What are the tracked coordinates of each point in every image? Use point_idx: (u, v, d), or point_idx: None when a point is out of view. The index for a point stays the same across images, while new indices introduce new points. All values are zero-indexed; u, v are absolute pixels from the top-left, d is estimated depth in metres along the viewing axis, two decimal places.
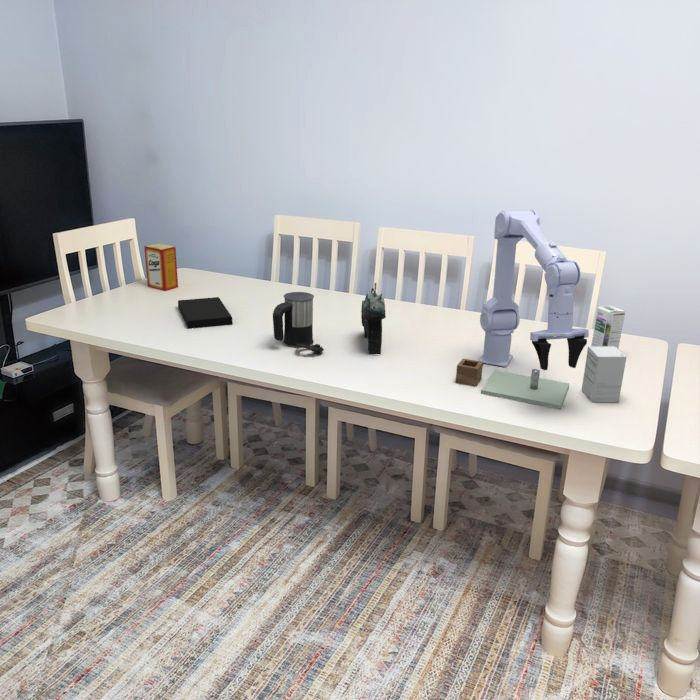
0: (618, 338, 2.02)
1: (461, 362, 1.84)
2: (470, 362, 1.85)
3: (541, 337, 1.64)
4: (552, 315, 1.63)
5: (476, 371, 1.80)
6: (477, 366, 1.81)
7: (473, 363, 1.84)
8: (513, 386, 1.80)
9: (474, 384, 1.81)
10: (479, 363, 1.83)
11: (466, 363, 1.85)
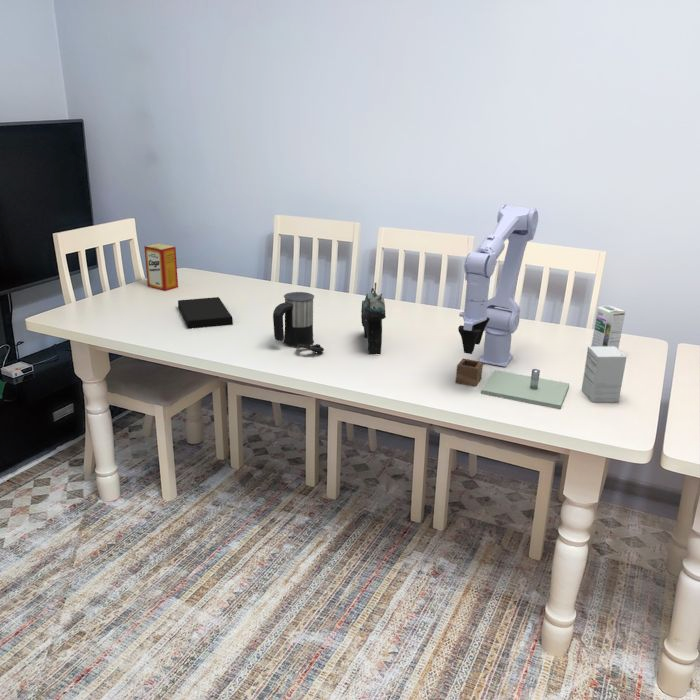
0: (618, 338, 2.02)
1: (461, 362, 1.84)
2: (470, 362, 1.85)
3: None
4: None
5: (476, 371, 1.80)
6: (477, 366, 1.81)
7: (473, 363, 1.84)
8: (513, 386, 1.80)
9: (474, 384, 1.81)
10: (479, 363, 1.83)
11: (466, 363, 1.85)
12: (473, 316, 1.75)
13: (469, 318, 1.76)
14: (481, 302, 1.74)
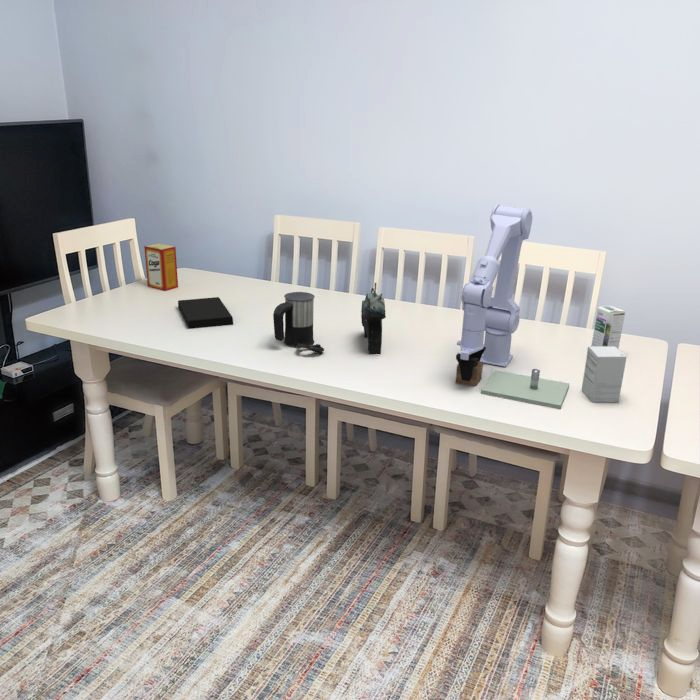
0: (618, 338, 2.02)
1: None
2: None
3: None
4: None
5: (476, 371, 1.80)
6: (477, 366, 1.81)
7: None
8: (513, 386, 1.80)
9: (474, 384, 1.81)
10: (479, 363, 1.83)
11: None
12: (470, 345, 1.78)
13: (466, 347, 1.79)
14: (478, 332, 1.77)
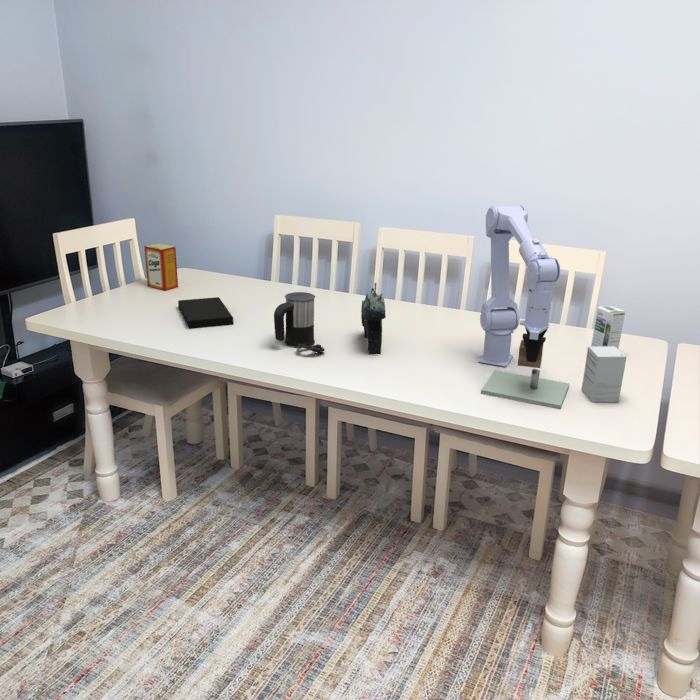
0: (618, 338, 2.02)
1: (522, 344, 1.76)
2: None
3: None
4: None
5: (540, 352, 1.72)
6: None
7: None
8: (513, 386, 1.80)
9: (538, 366, 1.74)
10: None
11: None
12: (537, 324, 1.70)
13: (532, 326, 1.71)
14: (545, 310, 1.69)
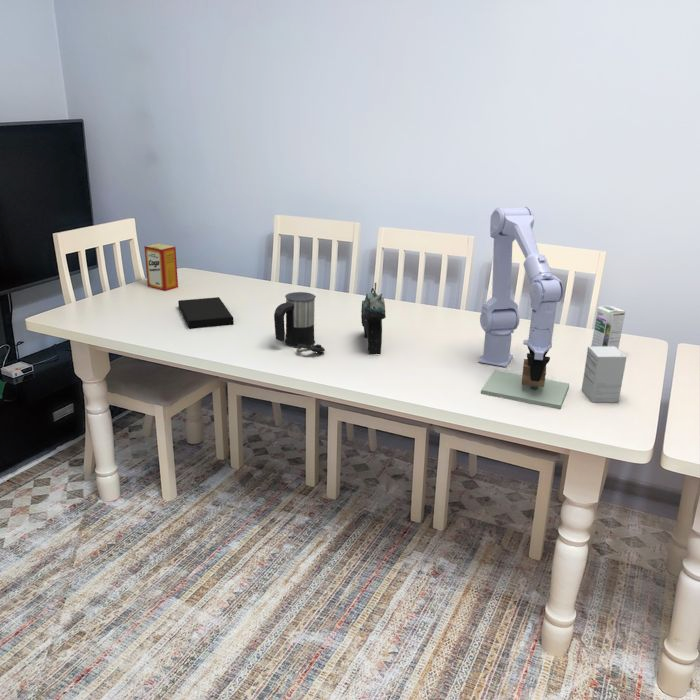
0: (618, 338, 2.02)
1: (525, 363, 1.77)
2: None
3: None
4: None
5: (544, 371, 1.74)
6: None
7: None
8: (513, 386, 1.80)
9: (542, 385, 1.75)
10: None
11: None
12: (541, 344, 1.71)
13: (536, 346, 1.72)
14: (549, 330, 1.70)
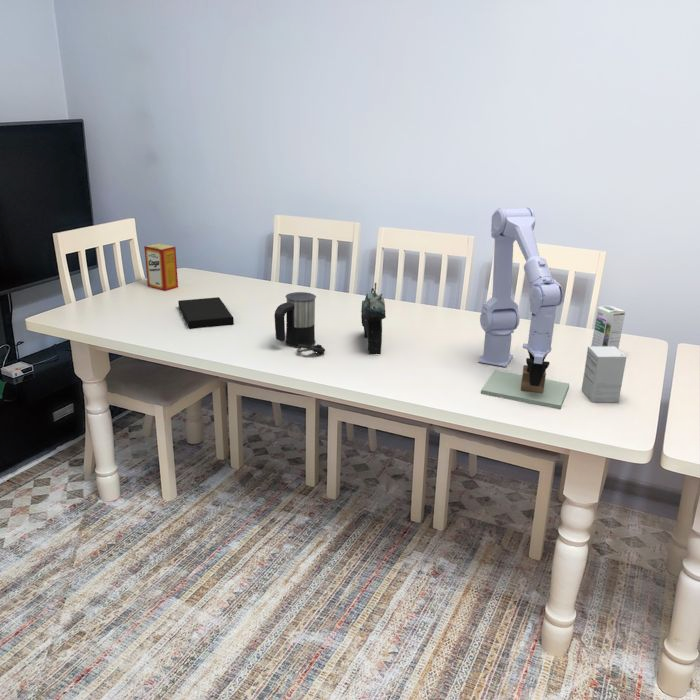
0: (618, 338, 2.02)
1: (525, 369, 1.77)
2: None
3: None
4: None
5: (544, 378, 1.74)
6: None
7: None
8: (513, 386, 1.80)
9: (541, 391, 1.76)
10: None
11: (528, 370, 1.79)
12: (540, 348, 1.72)
13: (536, 350, 1.72)
14: (548, 334, 1.71)
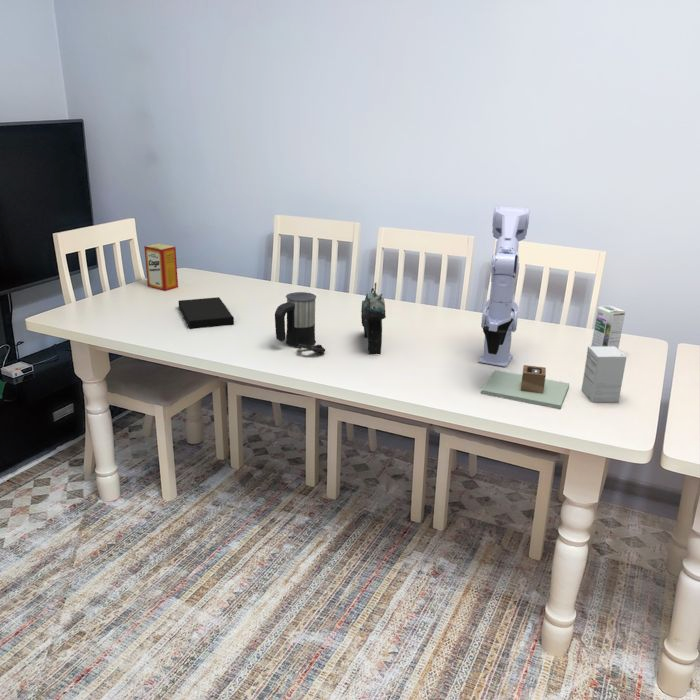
0: (618, 338, 2.02)
1: (525, 369, 1.77)
2: (532, 368, 1.79)
3: None
4: None
5: (544, 378, 1.74)
6: (543, 372, 1.76)
7: None
8: (513, 386, 1.80)
9: (541, 391, 1.76)
10: (543, 369, 1.78)
11: (528, 370, 1.79)
12: (498, 317, 1.75)
13: (494, 319, 1.76)
14: (506, 303, 1.74)
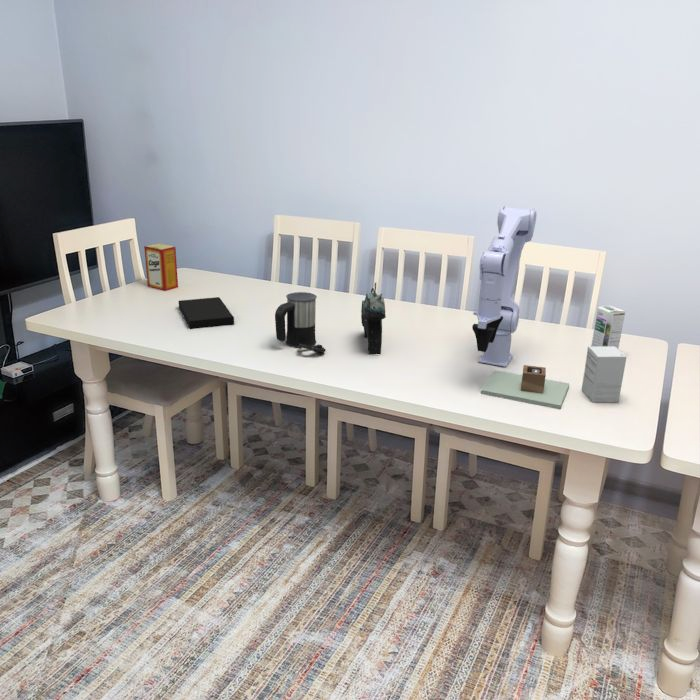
0: (618, 338, 2.02)
1: (525, 369, 1.77)
2: (532, 368, 1.79)
3: None
4: None
5: (544, 378, 1.74)
6: (543, 372, 1.76)
7: None
8: (513, 386, 1.80)
9: (541, 391, 1.76)
10: (543, 369, 1.78)
11: (528, 370, 1.79)
12: (487, 314, 1.77)
13: (483, 316, 1.77)
14: (495, 300, 1.75)
